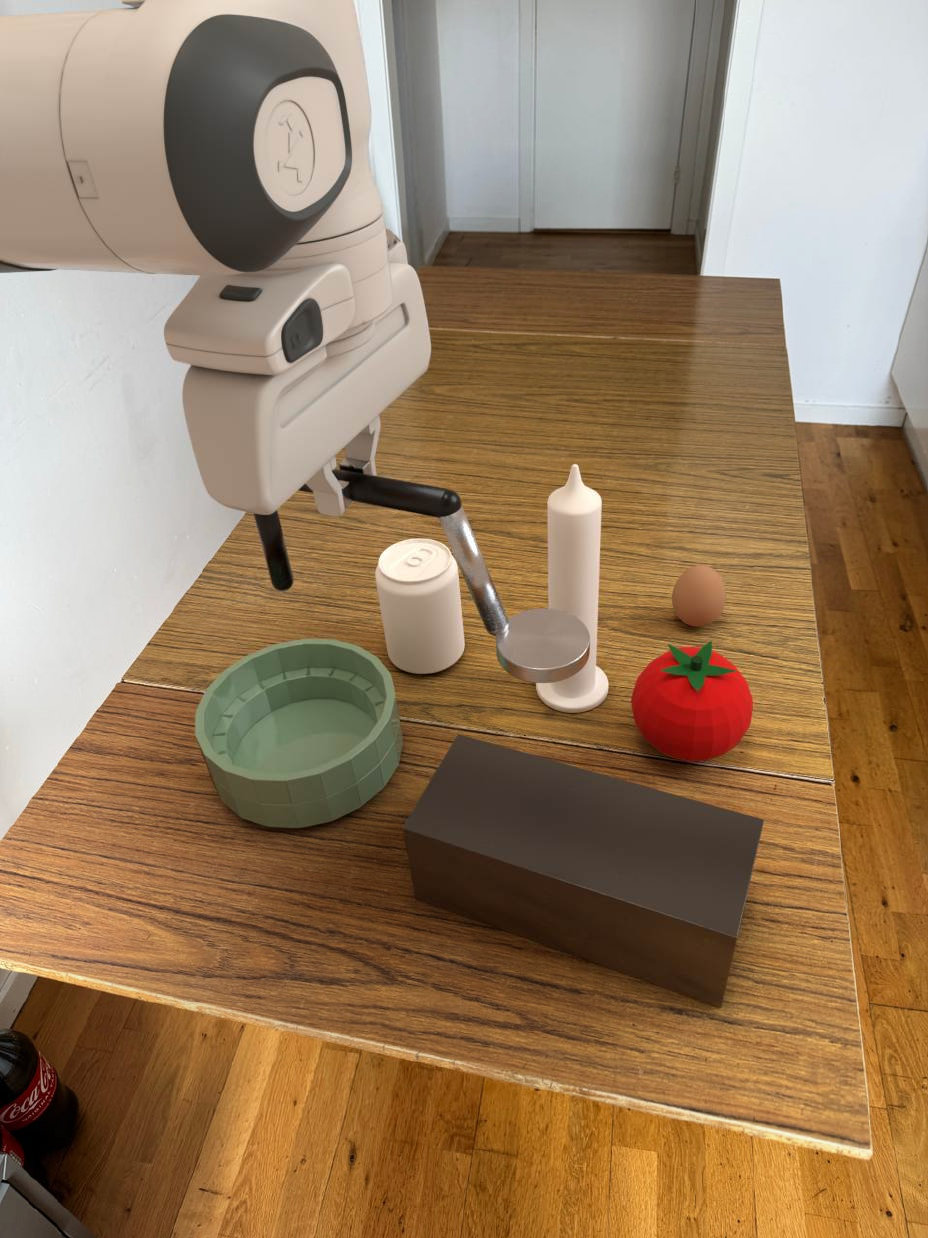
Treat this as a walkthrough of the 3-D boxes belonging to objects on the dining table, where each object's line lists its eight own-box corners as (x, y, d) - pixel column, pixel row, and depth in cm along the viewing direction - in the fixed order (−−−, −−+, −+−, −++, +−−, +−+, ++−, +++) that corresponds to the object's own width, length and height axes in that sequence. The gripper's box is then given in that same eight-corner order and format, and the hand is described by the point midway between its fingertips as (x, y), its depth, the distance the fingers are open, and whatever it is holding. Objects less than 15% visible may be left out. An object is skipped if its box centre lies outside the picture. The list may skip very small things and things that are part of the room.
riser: (721, 1008, 62) (737, 938, 56) (414, 898, 71) (401, 828, 65) (747, 892, 69) (764, 819, 63) (465, 805, 78) (458, 733, 72)
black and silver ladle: (601, 633, 59) (607, 490, 52) (571, 693, 54) (573, 546, 48) (296, 563, 67) (266, 432, 60) (250, 610, 63) (212, 476, 56)
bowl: (343, 859, 74) (330, 805, 70) (175, 799, 80) (152, 746, 76) (434, 716, 86) (427, 662, 82) (281, 674, 92) (267, 622, 88)
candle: (530, 668, 90) (524, 448, 75) (599, 660, 91) (607, 439, 75) (543, 718, 85) (539, 492, 69) (616, 708, 85) (628, 481, 69)
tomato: (741, 704, 85) (756, 623, 78) (750, 789, 77) (766, 707, 70) (630, 696, 86) (635, 616, 80) (627, 779, 79) (632, 698, 72)
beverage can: (372, 661, 93) (356, 568, 85) (419, 618, 98) (407, 527, 90) (435, 688, 89) (423, 594, 82) (480, 643, 94) (473, 549, 86)
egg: (721, 641, 92) (729, 587, 87) (667, 635, 93) (673, 581, 89) (722, 608, 96) (730, 555, 91) (671, 603, 97) (676, 550, 93)
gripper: (354, 216, 56) (382, 417, 65) (138, 343, 42) (211, 577, 51) (444, 221, 54) (461, 429, 62) (248, 358, 40) (305, 600, 48)
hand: (348, 497), depth 56 cm, fingers closed on black and silver ladle
